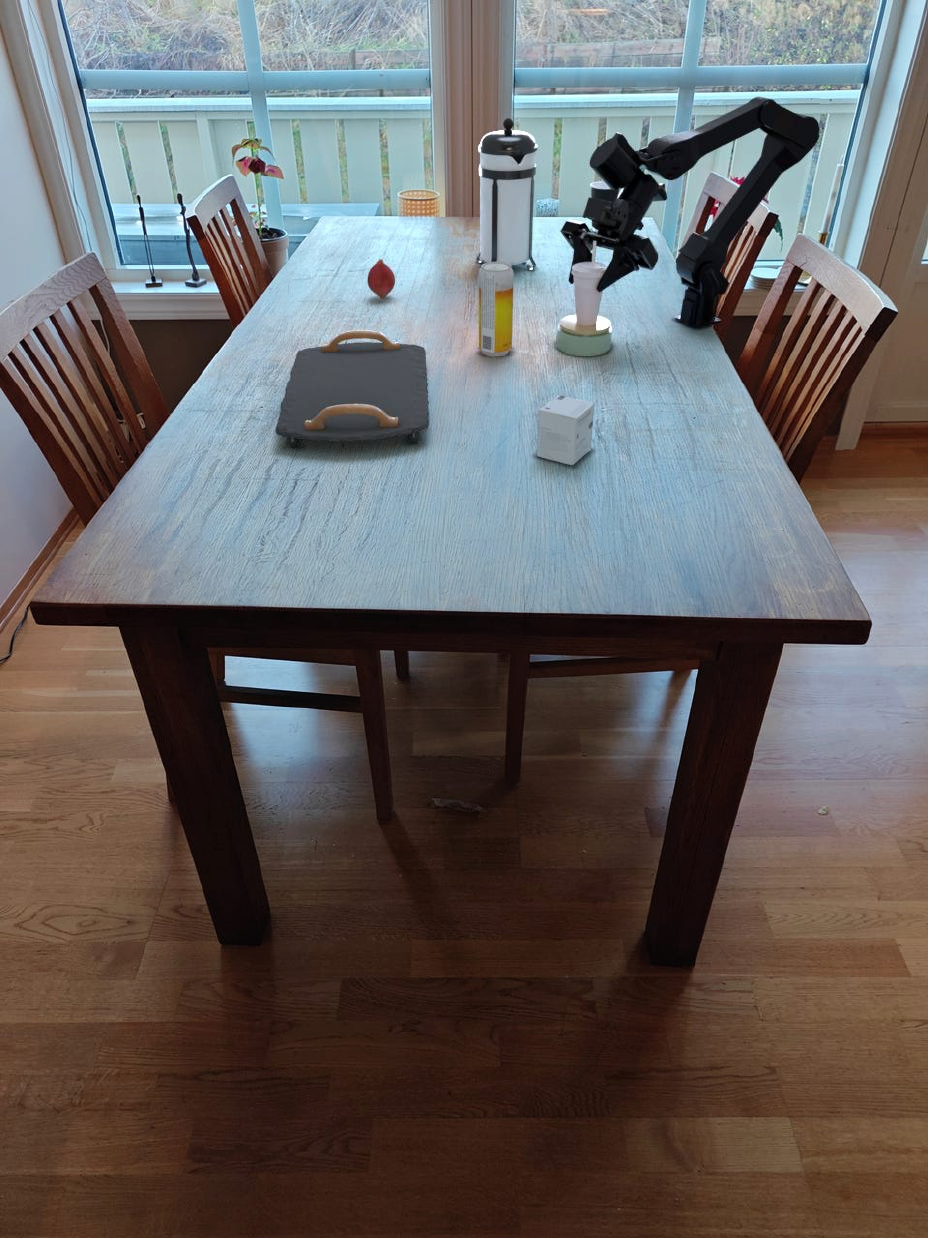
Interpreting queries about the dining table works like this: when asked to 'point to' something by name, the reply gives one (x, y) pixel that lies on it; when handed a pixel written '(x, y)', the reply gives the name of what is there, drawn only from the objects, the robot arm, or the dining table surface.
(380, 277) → the onion
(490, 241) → the coffee press
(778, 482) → the dining table surface
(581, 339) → the jar
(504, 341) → the beer can
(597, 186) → the dixie cup
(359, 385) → the serving tray
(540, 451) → the product carton
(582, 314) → the smoothie
